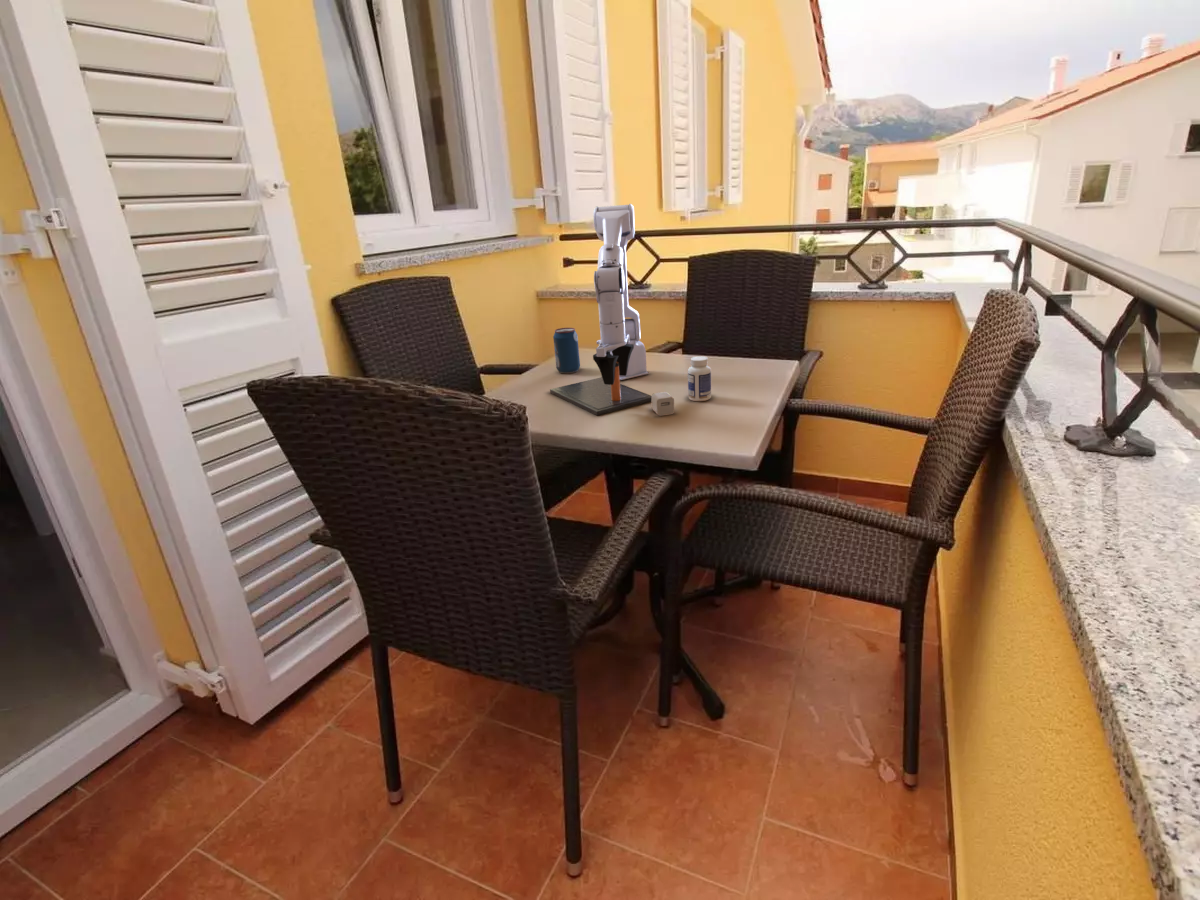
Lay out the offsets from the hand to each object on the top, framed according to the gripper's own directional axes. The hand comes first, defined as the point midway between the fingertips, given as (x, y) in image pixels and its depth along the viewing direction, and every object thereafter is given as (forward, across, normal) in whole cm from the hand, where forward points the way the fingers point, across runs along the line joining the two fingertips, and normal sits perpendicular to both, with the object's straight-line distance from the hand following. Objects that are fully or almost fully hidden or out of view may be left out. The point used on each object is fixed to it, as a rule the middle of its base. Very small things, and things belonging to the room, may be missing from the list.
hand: (615, 379), depth 147 cm
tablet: (+6, -4, -7) cm, 10 cm away
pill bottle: (+6, -8, +18) cm, 21 cm away
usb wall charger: (+6, +2, +12) cm, 14 cm away
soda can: (+6, -25, -26) cm, 37 cm away
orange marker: (+5, 0, 0) cm, 5 cm away
